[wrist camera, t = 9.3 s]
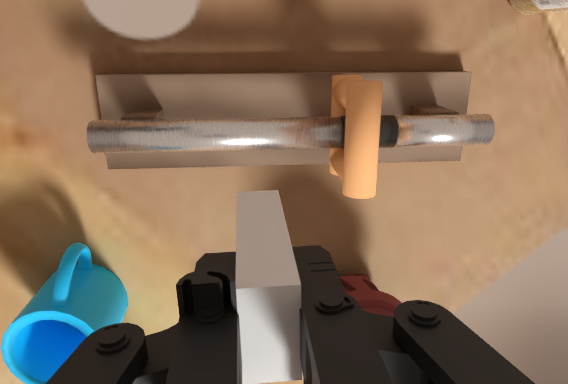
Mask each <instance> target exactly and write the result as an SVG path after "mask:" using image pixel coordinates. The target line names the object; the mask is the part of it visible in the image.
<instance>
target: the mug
mask: <svg viewBox="0 0 568 384" xmlns="http://www.w3.org/2000/svg"><path fill="white" fill-rule="evenodd" d="M77 260H78V263H76V262H77ZM127 306H128V298H127V292H126V290H125V288H124V285H123V283H122V282H121V281H120V280H119V279H118V278H117V277H116V275H115V274H114V273H112V272H110V271H109V270H107V269H105V268H103V267H102V266H98V265H94V264H92V258H91V252H90V250H89V247H88V246H87V245H85V244H83V243H80V242H75V243H73V244H72V245H70V246H69V247H68V248H67V250H66V251H65V253H64V254H63V256H62V259H61V262H60V264H59V267H58V270H57V271H56V272H55V273H53V274H52V275H51V276H50V278H49V279H48V280H47V281H46V282H45V284H44V285H43V286H42V287H41V288H40V290H39V291H38V292H37V293H36V294H35V296H34V297H33V298H32V299H31V300H30V302H29V303H28V304H27V305H26V306H25V308H24V309H23V310H22V311H21V313H20V314H19V315H18V316H17V317H16V319H15V320H14V321H13V322H12V323H11V325H10V326H9V328H8V329H7V331H6V332H5V334H4V335H3V340H2V346H1V350H2V354H3V359H4V362H5V363H6V365H7V366H8V368H9V369H10V371H11V372H12V373H13V374H14V375H15V376H16V377H18V378H19V379H20V380H21V381H22V382H24V383H26V384H46V382H47V381H48V380H49V379H50V378H51V377H52V376H53V374H54V373H55V372H56V371H57V370H58V369H59V368H60V366H61V365H62V364H63V363H64V362H65V361H66V360H67V358H68V357H69V356H70V355H71V354H72V353H73V352H74V350H75V349H76V348H77V347H78V346H79V345H80V344H81V342H82V341H83V340H84V339H85V338H86V337H88V336H89V335H90V334H91V333H92V332H94V331H96V330H98V329H100V328H102V327H104V326H108V325H111V324H116V323H121V322H122V320H123V318H124V315H125V313H126V309H127Z"/></svg>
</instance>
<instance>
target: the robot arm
mask: <svg viewBox="0 0 568 384" xmlns="http://www.w3.org/2000/svg"><path fill="white" fill-rule="evenodd" d="M176 290H177V298H178V307H179V315H180V317H179V322H178V323H177V324H176V325H174V326H172V327H170V328H169V329H166V330H163V331H161V332H158V333H154V334H151V335H147V336H145V334H144V331H143V329H142V328H140V327H139V326H138V325H135V324H130V323H116V324H111V325H108V326H104V327H102V328H100V329H98V330H96V331H94V332H92V333H91V334H90V335H89V336H88V337H86V338H85V339H84V340H83V341H82V342H81V344H80V345H79V346H78V347H77V348H76V349H75V350H74V352H73V353H72V354H71V355H70V356H69V357H68V358H67V360H66V361H65V362H64V363H63V364H62V365H61V366H60V368H59V369H58V370H57V371H56V372H55V373H54V374H53V376H52V377H51V378H50V379H49V380H48V381H47V382H46V384H258V383H270V382H282V381H294V380H302V372H303V377H304V384H535V383H534V382H532V381H531V380H530V379H529V378H528V377H527V376H525V375H524V374H523V373H522V372H521V371H519V370H518V369H517V368H516V367H515V366H513V365H512V364H511V363H510V362H509V361H508V360H506V359H505V358H504V357H503V356H502V355H500V354H499V353H498V352H497V351H496V350H494V349H493V348H492V347H491V346H490V345H489V344H487V343H486V342H485V341H484V340H483V339H481V338H480V337H479V336H478V335H477V334H475V333H474V332H473V331H472V330H471V329H470V328H468V327H467V326H466V325H465V324H463V323H462V322H461V321H460V320H459V319H458V318H456V317H455V316H454V315H453V314H452V313H451V312H449V311H448V310H447V309H445V308H443V307H442V306H440V305H438V304H435V303H432V302H429V301H422V300H413V301H406V302H404V303H401V304H399V305H398V306H397V307H396V308H395V309H394V316H387V315H379V314H374V313H369V312H366V311H364V310H361V308H360V306H359V303H358V302H357V301H356V300H355V298H354V297H352V296H350V295H348V294H347V293H346V292H345V290H344V287H343V285H342V283H341V280H340V278H339V275H338V273H337V271H336V268H335V265H334V263H333V260H332V258H331V256H330V253H329V252H328V251H326V250H325V249H324V248H322V247H321V246H320V245H318V246H301V247H292V245H291V241H290V237H289V233H288V228H287V224H286V220H285V216H284V212H283V208H282V204H281V200H280V195H279V191H278V190H267V191H247V192H237V229H236V252H223V253H206V254H204V255H203V256H202V257H201V258H200V259H199V260H198V261H197V262H196V267H195V271H194V272H191V273H189V274H187V275H185V276H184V277H182V278H181V279H180V280H179V281H178V283H177V284H176Z"/></svg>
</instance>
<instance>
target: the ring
mask: <svg viewBox="0 0 568 384" xmlns="http://www.w3.org/2000/svg"><path fill="white" fill-rule="evenodd" d="M362 78H363V76H362V75H332V100H331V117H340V116H346V122H345V146H344V149H341V148H330V164H329V172H330V173H331V174H333V175H338V176H339V177H340V179H341V180H342V182H343V195H345V196H347V197H350V198H356V199H367V198H371V197H374V196H375V194H376V180H377V165H378V150H379V135H380V120H381V106H382V91H383V82H382V81H370V80H362Z"/></svg>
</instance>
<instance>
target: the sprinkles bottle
mask: <svg viewBox="0 0 568 384" xmlns="http://www.w3.org/2000/svg"><path fill="white" fill-rule="evenodd" d="M509 2H510V4H511V6H512V7H513V8H514V9H515V10H516V11H517V12H519V13H521V14H524V15H534V14H536V13H540V12H550V11H552V12H560V11H568V0H509Z"/></svg>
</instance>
